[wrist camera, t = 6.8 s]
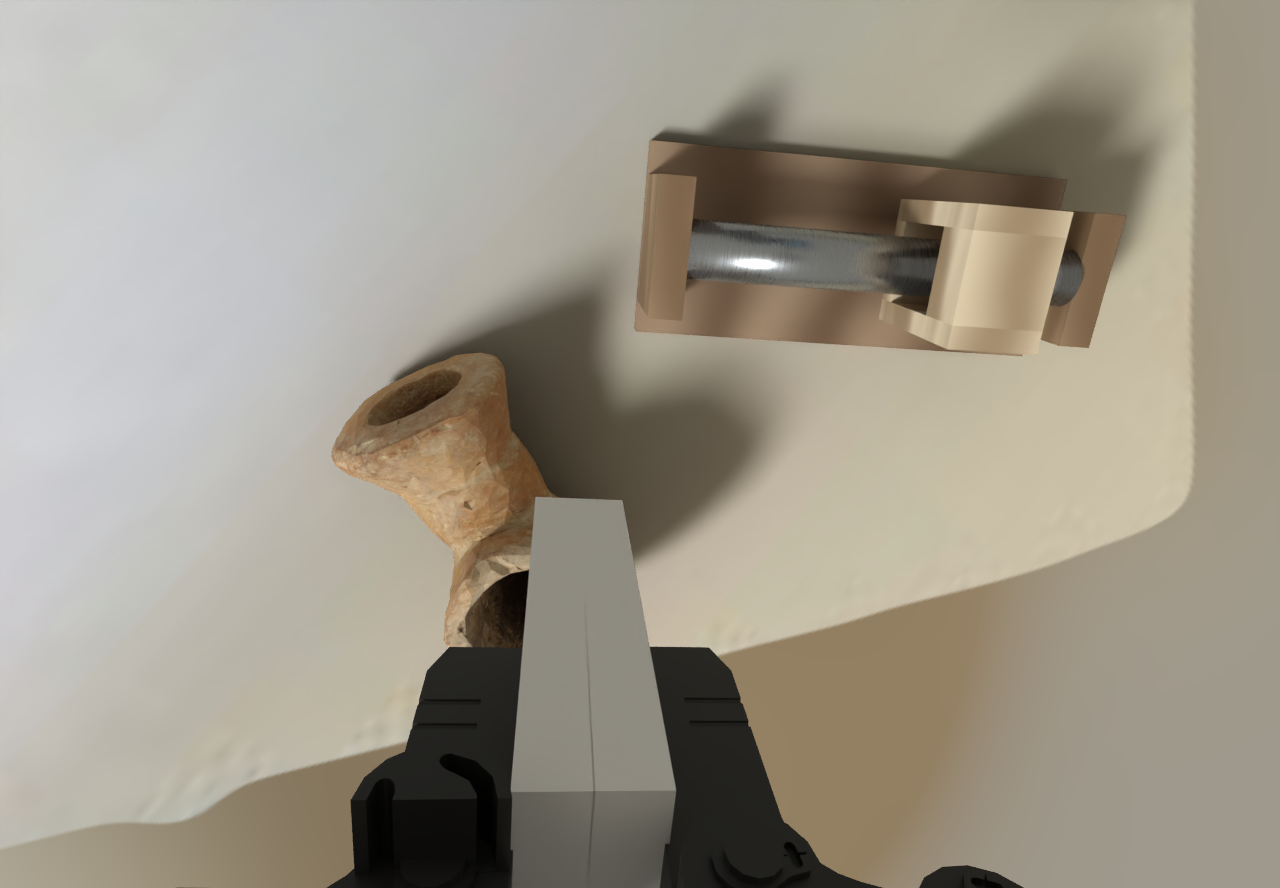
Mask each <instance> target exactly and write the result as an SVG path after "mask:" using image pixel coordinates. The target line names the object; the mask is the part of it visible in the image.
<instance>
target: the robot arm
mask: <svg viewBox="0 0 1280 888" xmlns="http://www.w3.org/2000/svg"><path fill="white" fill-rule="evenodd" d="M351 814H352V832H353V851H354V869H353V870H352V871H351V872H350V873H349V874H348V875H346V876H345V877H343V878H342V879H340V880H338V881H337V882H335V883H334V884H332V885H330V886H329V887H327V888H881V887H878V886H874V885H870V884H866V883H863V882H860V881H857V880H854V879H852V878H849V877H846V876H843V875H840V874H838V873H836V872H835V871H833V870H831V869H830V868H828V867H826V866H824V865H822V864H821V863H820V862H819V860H818V858H817V857H816V855H815V853H814V852H813V850H812V848H811V847H810V845H809V843H808V842H807V841H806V840H805V839H804V838H803V837H801V836H800V835H799V834H798V833H797V832H796V831H795V830H793V829H792V828H791V827H790V826H789V825H788V824H786V823H784V821H783V819H782V817H781V815H780V812H779V809H778V806H777V803H776V800H775V797H774V794H773V791H772V789H771V785H770V783H769V780H768V777H767V774H766V771H765V768H764V765H763V762H762V759H761V756H760V753H759V750H758V747H757V745H756V742H755V739H754V736H753V733H752V730H751V727H749V726H748V719H747V715H746V712H745V710H744V707H743V704H742V703H741V702H740V695H739V692H738V689H737V686H736V683H735V680H734V677H733V674H732V672H731V670H730V669H729V668H728V667H727V666H726V665H725V664H724V663H723V662H722V661H721V660H720V659H719V658H718V657H717V656H716V655H715V654H714V652H713V651H712V650H711V649H710V648H702V647H650V646H649V641H648V636H647V630H646V625H645V619H644V614H643V609H642V603H641V598H640V592H639V587H638V582H637V576H636V571H635V565H634V560H633V555H632V549H631V544H630V538H629V533H628V528H627V522H626V517H625V512H624V506H623V501H622V500H605V499H578V498H551V497H535V509H534V521H533V532H532V544H531V556H530V568H529V579H528V591H527V603H526V614H525V626H524V638H523V648H505V647H449V648H448V649H447V650H446V651H445V652H444V653H443V654H442V656H441V657H440V658H439V659H438V660H437V661H436V662H435V663H434V664H433V665H432V666H431V667H430V668H429V669H428V670H427V673H426V677H425V680H424V684H423V688H422V691H421V695H420V699H419V705H418V706H417V710H416V713H415V717H414V720H413V727H412V729H411V731H410V735H409V739H408V742H407V746H406V750H405V752H403V753H401V754H398V755H396V756H393V757H391V758H389V759H387V760H385V761H384V762H383V763H382V764H380V765H379V766H378V767H377V768H376V769H374V770H373V771H372V772H371V773H369V774H368V775H367V776H366V777H364V779H363V781H362V782H361V784H360V786H359V787H358V789H357V791H356V792H355V794H354V796H353V797H352V799H351ZM920 888H1023V887H1021V886H1020V885H1018V884H1016V883H1014V882H1012V881H1010V880H1009V879H1007V878H1005V877H1003V876H1001V875H999V874H998V873H995V872H991V871H987V870H983V869H979V868H976V867H971V866H968V865H966V866H951V867H942V868H940V869H938V870H936V871H935V872H933V873H931V874H930V875H928V876H926V877H924V879H923V881H922V883H921V885H920Z"/></svg>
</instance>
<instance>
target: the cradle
mask: <svg viewBox="0 0 1280 888" xmlns="http://www.w3.org/2000/svg"><path fill="white" fill-rule="evenodd" d="M1066 182H1067V180H1064V179H1053V178H1043V177H1032V176H1022V175H1011V174H1001V173H990V172H980V171H969V170H959V169H948V168H938V167H927V166H917V165H906V164H896V163H885V162H875V161H864V160H854V159H843V158H833V157H822V156H812V155H801V154H791V153H780V152H770V151H759V150H749V149H738V148H728V147H717V146H707V145H696V144H686V143H675V142H665V141H654V140H651V141H649V153H648V166H647V178H646V190H645V203H644V215H643V228H642V240H641V252H640V265H639V277H638V289H637V302H636V314H635V326H634V329H635V331H638V332H654V333H669V334H685V335H700V336H716V337H731V338H747V339H762V340H778V341H793V342H809V343H825V344H840V345H856V346H871V347H887V348H902V349H918V350H933V351H949V352H964V353H980V354H996V355H1011V356H1022V355H1023V354H1011V353H996V352H980V351H965V350H949V349H945V348H943V347H941V346H939V345H936V344H934V343H932V342H930V341H927V340H925V339H923V338H921V337H918V336H916V335H914V334H912V333H909V332H907V331H905V330H903V329H900V328H898V327H896V326H894V325H891V324H889V323H887V322H885V321H882V320H880V319H879V314H880V309H881V304H882V298H883V294H880V293H866V292H853V291H839V290H825V289H812V288H798V287H785V286H771V285H757V284H744V283H730V282H716V281H703V280H689V279H687V269H688V259H689V249H690V239H691V229H692V220H693V219H703V220H715V221H727V222H739V223H751V224H763V225H775V226H787V227H799V228H811V229H823V230H835V231H848V232H860V233H872V234H884V235H894V234H895V229H896V224H897V218H898V213H899V208H900V202H901V199H911V200H928V201H944V202H961V203H977V204H989V205H1000V206H1011V207H1022V208H1033V209H1045V210H1056V211H1060V206H1061V202H1062V198H1063V194H1064V190H1065V186H1066ZM1067 212H1074V213H1073V217H1072V221H1071V224H1070V228H1069V232H1068V236H1067V240H1066V244H1065V247H1064V250H1072V251H1075V252H1076V253H1077V254H1078V255H1079V257H1080V259H1081V262H1082V267H1083V275H1082V280H1081V284H1080V287H1079V289H1078V291H1077V293H1076V295H1075V296H1074V298H1073V299H1072V300H1071V301H1070V302H1069V303H1067V304H1066V305H1064V306H1059V307H1057V306H1049V309H1048V313H1047V316H1046V320H1045V324H1044V328H1043V332H1042V335H1041V340H1043V341H1046V342H1049V343H1052V344H1055V345H1058V346H1069V347H1084V348H1089V345H1090V342H1091V338H1092V334H1093V331H1094V327H1095V324H1096V320H1097V317H1098V313H1099V310H1100V306H1101V303H1102V299H1103V296H1104V292H1105V289H1106V285H1107V282H1108V278H1109V275H1110V271H1111V267H1112V264H1113V260H1114V257H1115V253H1116V250H1117V246H1118V243H1119V239H1120V236H1121V232H1122V229H1123V225H1124V222H1125V218H1126V216H1125V215H1114V214H1103V213H1091V212H1075V211H1067Z"/></svg>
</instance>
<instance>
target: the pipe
mask: <svg viewBox="0 0 1280 888" xmlns="http://www.w3.org/2000/svg"><path fill="white" fill-rule="evenodd" d="M332 459H333V461H334V464H335V466H337V467H338V468H340V469H341V470H343V471H344V472H346V473H347V474H348V475H350V476H353V477H356V478H359V479H362V480H365V481H368V482H370V483H373V484H376V485H378V486H380V487H382V488H384V489H386V490H389V491H391V492H394V493H397V494H398V495H399V496H401V497H402V498H403V499H404V500H405V501H406V502H407V503H408V504H409V505H410V506H411V508H412V509H413V510H414V511H415V512H416V513H417V514H418V516H419V517H420V518H421V519H422V520H423V521H424V523H425V524H426V525H427V526H428V527H429V528H430V529H431V530H432V531H433V532H434V533H435V534H436V535H437V536H438V537H439V538H440V539H441V540H442V541H443V542H444V543H445V544H447V545H448V546H449V547H450V548H451V549H452V550H454V564H455V566H454V571H453V580H452V586H451V589H450V601H449V605H448V608H447V611H446V617H445V630H444V641H445V643H446V645H447V647H448V648H449V647H505V648H523V638H524V626H525V614H526V603H527V591H528V579H529V568H530V556H531V544H532V532H533V521H534V509H535V497H551V498H558V497H557V496H556V495H555V494H553V493H551V492H550V491H548V488H547V486H546V484H545V482H544V480H543V478H542V475H541V473H540V471H539V469H538V467H537V465H536V463H535V461H534V460H533V458H532V457H531V455H530V454H529V452H528V451H527V449H526V448H525V447H524V445H523V444H522V442H521V441H520V440H519V438H518V437H517V436H516V434H515V433H514V432H513V431H511V427H510V418H509V409H508V398H507V386H506V374H505V370H504V367H503V364H502V363H501V361H500V360H499V359H498V358H497V357H496V356H495V355H490V354H486V353H482V352H481V353H469V354H461V355H455V356H452V357H450V358H449V359H447V360H444V361H441V362H438V363H435V364H431V365H429V366H427V367H424V368H422V369H420V370H418V371H416V372H414V373H412V374H410V375H408V376H406V377H404V378H401V379H400V380H398V381H396V382H394V383H392V384H390V385H388V386H386V387H384V388H382V389H381V390H379V391H378V392H377V393H375V394H374V395H372V396H371V397H369V398H368V399H367V400H365V401H364V402H363V403H362V405H361V406H360V407H359V408H358V409H357V411H356V412H355V413H354V414H353V416H352V417H351V418H350V419H349V420H348V421H347V422H346V424H345V425H344V427H343V429H342V431H341V433H340V434H339V436H338V437H337V439H336V441H335V444H334V446H333V449H332Z"/></svg>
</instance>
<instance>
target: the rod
mask: <svg viewBox="0 0 1280 888" xmlns="http://www.w3.org/2000/svg"><path fill="white" fill-rule="evenodd" d="M941 241H942V239H932V238H920V237H908V236H896V235H884V234H872V233H860V232H848V231H835V230H823V229H811V228H799V227H787V226H775V225H763V224H751V223H739V222H727V221H715V220H703V219H693V220H692V229H691V239H690V249H689V259H688V269H687V279H689V280H703V281H716V282H730V283H744V284H757V285H771V286H785V287H798V288H812V289H825V290H839V291H853V292H866V293H880V294H894V295H907V296H921V297H930V293H931V289H932V284H933V279H934V274H935V269H936V265H937V260H938V255H939V250H940V245H941ZM1082 275H1083V267H1082V262H1081V259H1080V257H1079V255H1078V254H1077V253H1076V252H1075V251H1072V250H1064V251H1063V255H1062V259H1061V263H1060V267H1059V270H1058V274H1057V278H1056V282H1055V286H1054V290H1053V293H1052V297H1051V301H1050V305H1049V306H1057V307H1059V306H1064V305H1066V304H1067V303H1069V302H1070V301H1071V300H1072V299H1073V298H1074V296H1075V295H1076V293H1077V291H1078V289H1079V287H1080V284H1081V280H1082Z"/></svg>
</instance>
